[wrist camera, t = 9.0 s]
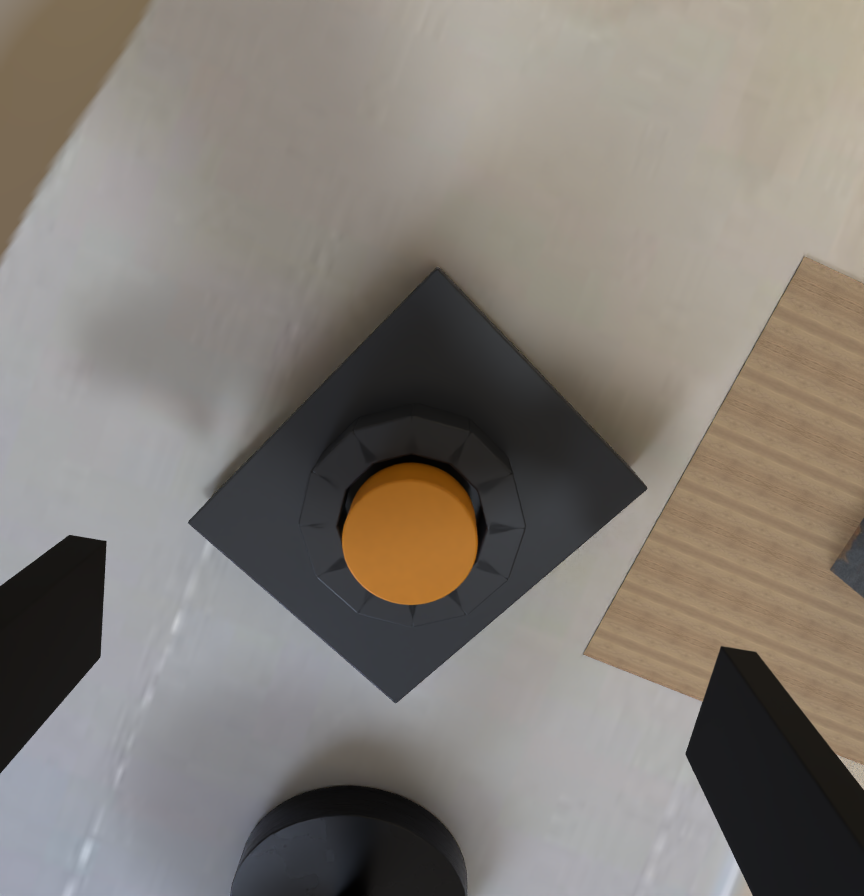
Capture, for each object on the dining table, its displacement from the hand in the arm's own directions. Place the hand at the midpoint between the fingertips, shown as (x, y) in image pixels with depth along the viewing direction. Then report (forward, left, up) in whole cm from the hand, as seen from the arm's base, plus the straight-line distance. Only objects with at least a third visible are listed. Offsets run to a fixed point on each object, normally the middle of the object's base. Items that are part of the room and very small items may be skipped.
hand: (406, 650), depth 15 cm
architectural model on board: (+18, +12, -11) cm, 24 cm away
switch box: (0, 0, -11) cm, 11 cm away
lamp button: (0, 0, -8) cm, 8 cm away
